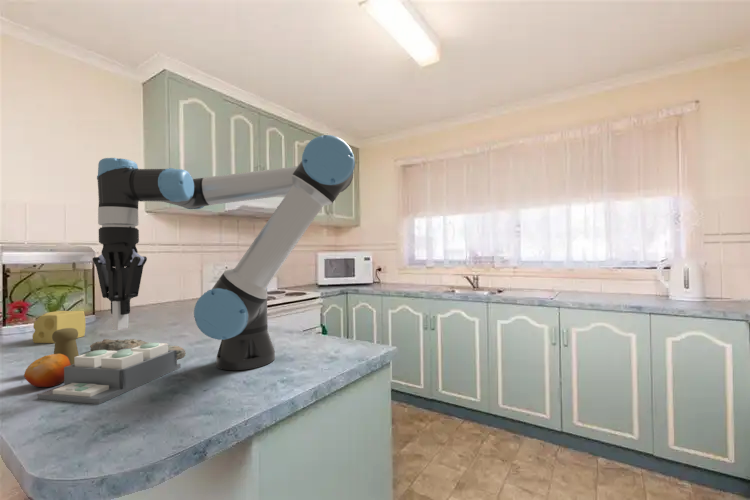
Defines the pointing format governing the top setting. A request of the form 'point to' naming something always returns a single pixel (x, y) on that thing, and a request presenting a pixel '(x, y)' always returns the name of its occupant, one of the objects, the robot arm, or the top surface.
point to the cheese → (58, 324)
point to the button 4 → (151, 349)
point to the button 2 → (122, 360)
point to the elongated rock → (129, 346)
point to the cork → (66, 343)
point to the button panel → (109, 379)
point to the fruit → (47, 370)
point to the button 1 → (92, 358)
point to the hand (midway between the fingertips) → (120, 328)
